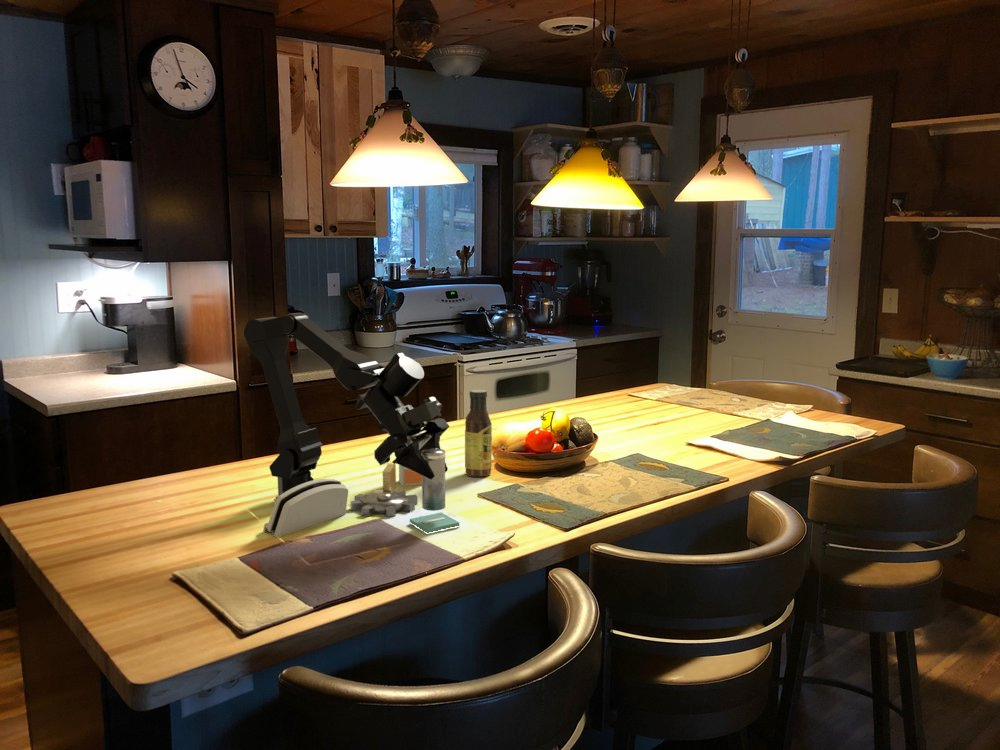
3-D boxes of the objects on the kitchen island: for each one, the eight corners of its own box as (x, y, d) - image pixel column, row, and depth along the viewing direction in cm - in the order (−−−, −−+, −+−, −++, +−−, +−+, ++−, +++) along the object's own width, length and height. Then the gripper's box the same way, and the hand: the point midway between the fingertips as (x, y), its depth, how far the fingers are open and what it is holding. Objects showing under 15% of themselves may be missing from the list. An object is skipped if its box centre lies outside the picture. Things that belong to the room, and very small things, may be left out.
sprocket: (410, 517, 167) (410, 485, 166) (344, 516, 168) (343, 484, 167) (422, 493, 182) (422, 464, 181) (362, 492, 183) (361, 463, 182)
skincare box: (401, 486, 188) (400, 434, 186) (398, 481, 192) (397, 430, 190) (428, 484, 190) (427, 432, 188) (425, 479, 194) (424, 428, 192)
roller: (424, 511, 159) (423, 454, 157) (420, 504, 163) (419, 449, 161) (447, 509, 160) (447, 453, 158) (443, 502, 164) (442, 447, 163)
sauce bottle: (488, 478, 194) (488, 394, 191) (462, 477, 195) (461, 393, 192) (494, 471, 200) (494, 389, 197) (468, 469, 202) (468, 388, 198)
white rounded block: (329, 509, 172) (339, 468, 169) (344, 522, 170) (354, 479, 166) (261, 532, 159) (269, 487, 156) (276, 545, 157) (285, 500, 153)
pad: (427, 535, 158) (426, 528, 157) (409, 524, 163) (409, 518, 163) (459, 528, 161) (459, 521, 161) (441, 518, 167) (441, 511, 167)
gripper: (386, 393, 151) (439, 461, 148) (440, 378, 168) (489, 438, 165) (352, 431, 156) (402, 497, 153) (407, 412, 173) (454, 472, 169)
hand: (439, 474), depth 160 cm, fingers closed on roller, 4 cm apart
